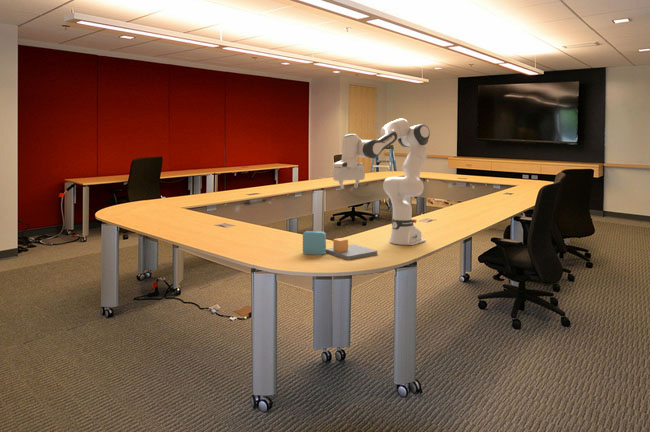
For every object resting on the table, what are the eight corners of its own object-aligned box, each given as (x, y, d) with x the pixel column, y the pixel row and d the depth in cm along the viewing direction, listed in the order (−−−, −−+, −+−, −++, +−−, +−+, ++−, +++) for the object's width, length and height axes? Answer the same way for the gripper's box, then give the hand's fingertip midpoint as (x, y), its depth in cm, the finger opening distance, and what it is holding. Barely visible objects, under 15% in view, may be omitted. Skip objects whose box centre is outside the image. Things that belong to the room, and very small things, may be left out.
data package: (325, 253, 281) (325, 231, 279) (324, 255, 276) (324, 233, 274) (304, 252, 283) (304, 230, 281) (302, 254, 278) (302, 232, 276)
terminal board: (353, 247, 293) (353, 236, 292) (377, 254, 277) (377, 242, 276) (325, 252, 281) (325, 241, 280) (348, 260, 265) (348, 247, 264)
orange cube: (341, 248, 282) (341, 237, 281) (347, 250, 278) (347, 239, 277) (333, 249, 279) (333, 239, 278) (339, 251, 274) (339, 240, 273)
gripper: (360, 162, 294) (359, 186, 296) (331, 163, 282) (331, 188, 284) (367, 162, 289) (367, 187, 291) (338, 164, 277) (338, 189, 279)
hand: (349, 188), depth 288 cm, fingers open, 8 cm apart
